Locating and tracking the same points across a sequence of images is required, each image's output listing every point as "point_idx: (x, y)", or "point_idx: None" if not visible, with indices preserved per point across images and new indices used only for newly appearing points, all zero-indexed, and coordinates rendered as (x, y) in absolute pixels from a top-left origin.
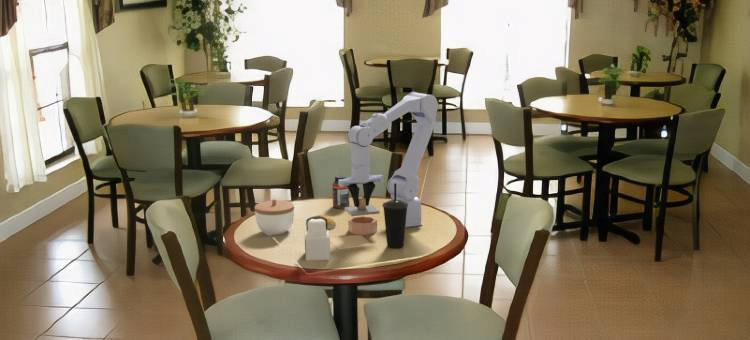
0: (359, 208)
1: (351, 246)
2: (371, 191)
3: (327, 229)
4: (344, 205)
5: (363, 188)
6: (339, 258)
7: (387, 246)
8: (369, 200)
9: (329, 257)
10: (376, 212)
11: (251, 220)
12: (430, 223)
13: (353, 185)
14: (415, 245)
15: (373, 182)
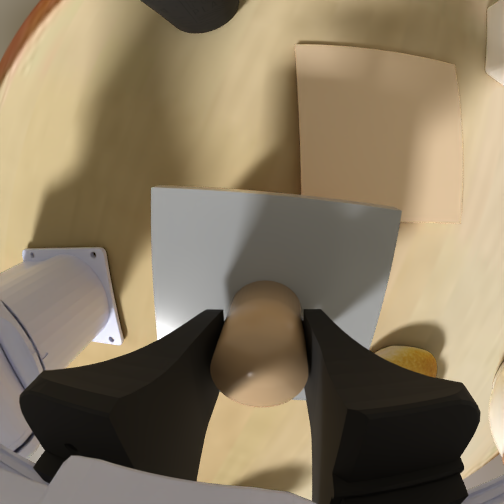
0: (295, 301)
1: (399, 68)
2: (119, 363)
3: (400, 346)
4: None
5: (195, 477)
6: (457, 5)
7: (238, 2)
8: (183, 324)
9: (493, 5)
10: (179, 188)
11: (484, 458)
12: (7, 260)
13: (405, 495)
14: (118, 19)
15: (41, 461)
